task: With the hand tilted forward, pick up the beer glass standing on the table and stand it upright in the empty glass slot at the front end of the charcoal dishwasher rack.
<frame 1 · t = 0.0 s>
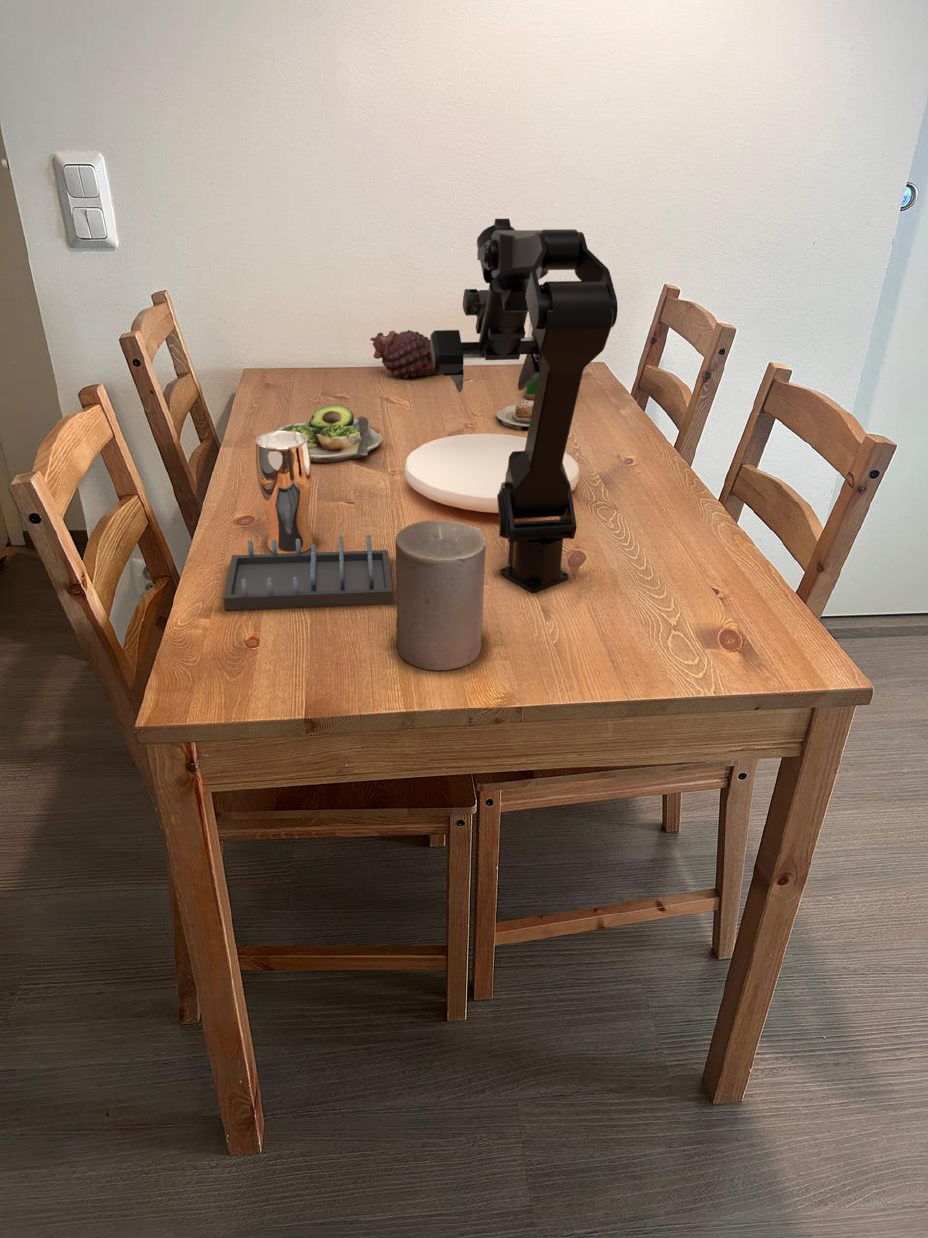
hand: (489, 388, 138), 15 cm above the table, tool tilted 35°, fingers open, 9 cm apart
pillar candle: (439, 649, 105), on the table
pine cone: (411, 376, 194), on the table
pastry: (528, 421, 171), on the table
beer glass: (290, 546, 126), on the table
plate: (491, 489, 144), on the table
rack: (310, 585, 116), on the table
salad plate: (329, 444, 159), on the table
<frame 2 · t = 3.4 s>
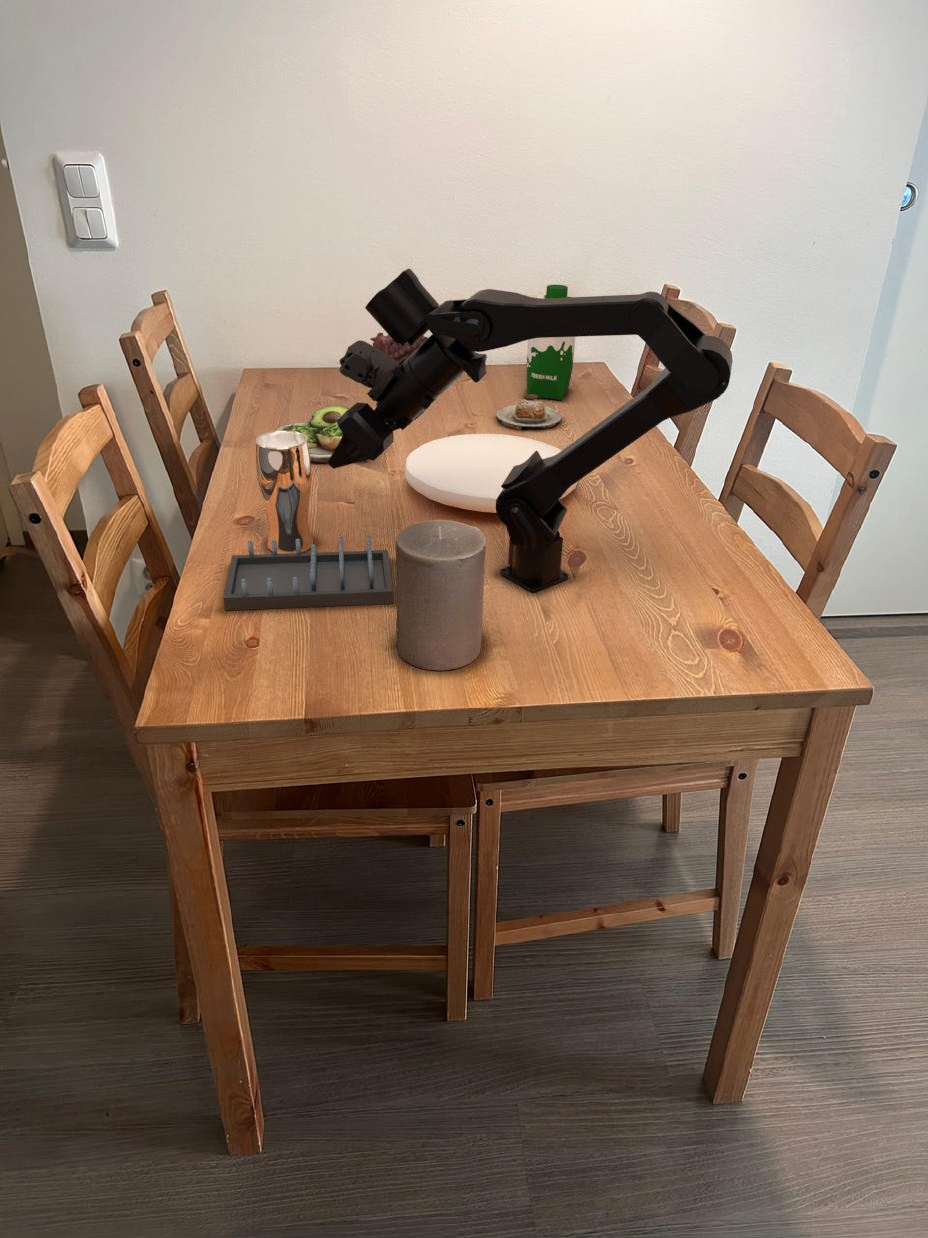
hand: (344, 452, 118), 14 cm above the table, tool tilted 45°, fingers open, 9 cm apart
nothing on the table moved.
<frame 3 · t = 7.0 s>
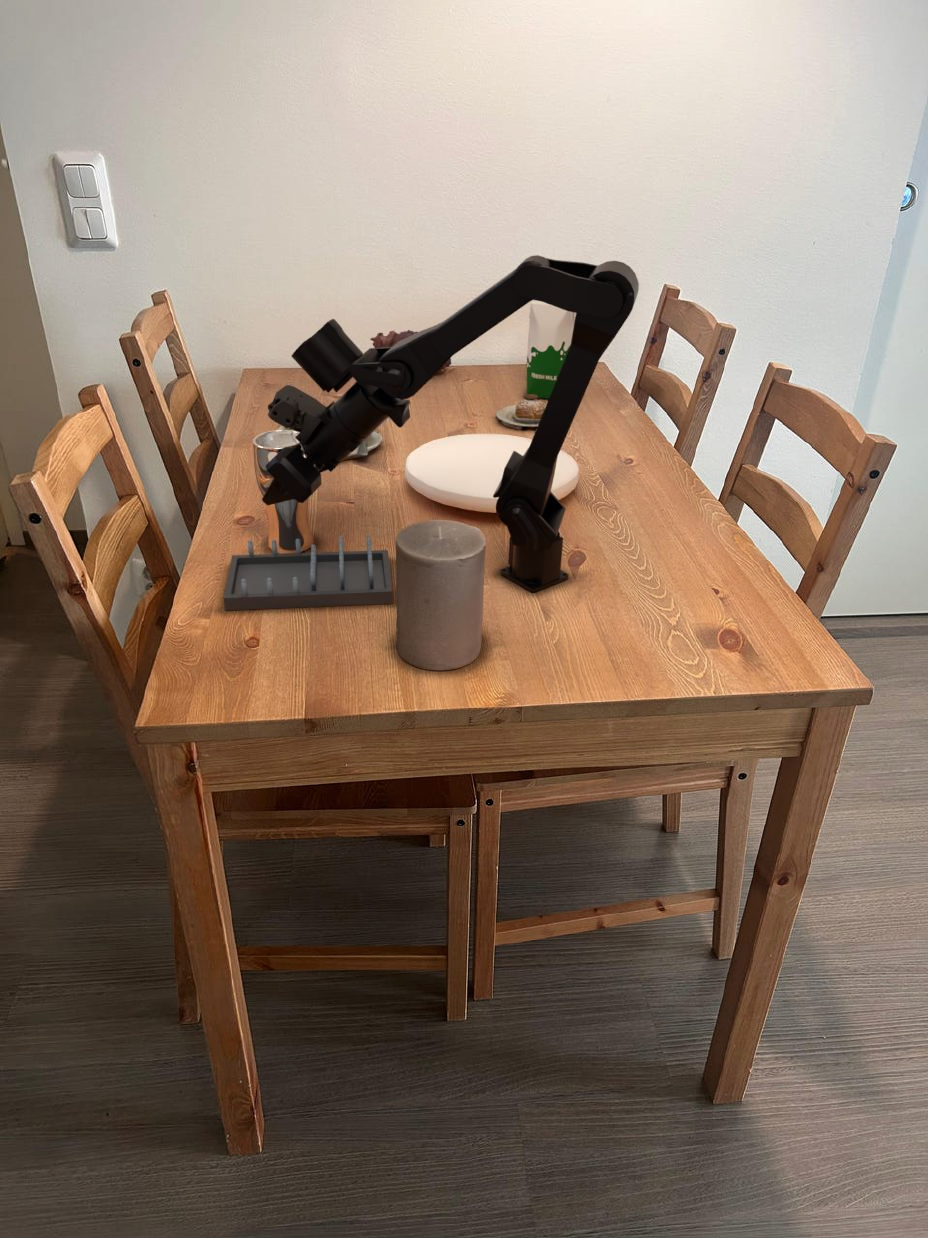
hand: (275, 491, 122), 8 cm above the table, tool tilted 45°, fingers closed on beer glass, 7 cm apart
beer glass: (291, 544, 126), on the table, touching gripper
everything else where it was.
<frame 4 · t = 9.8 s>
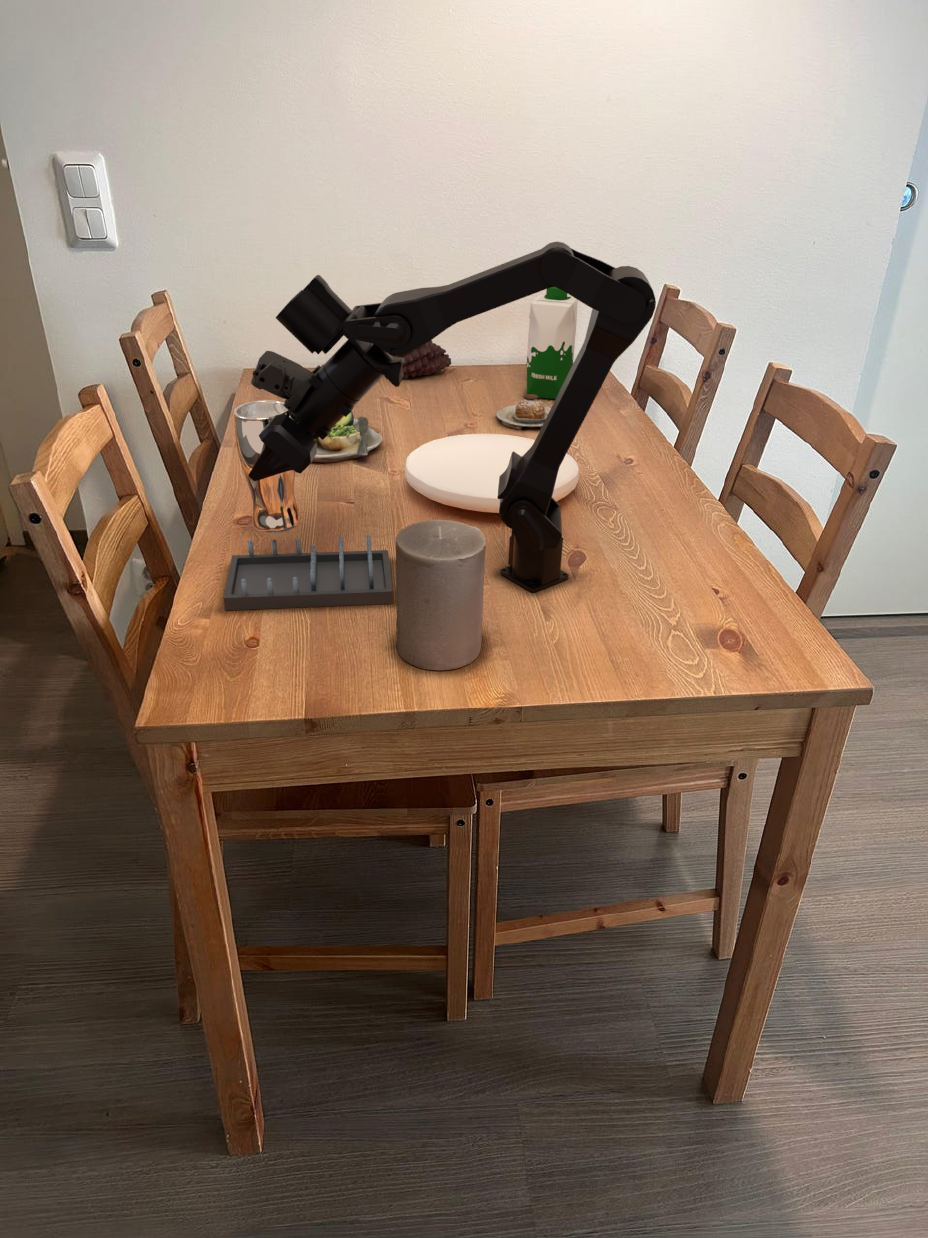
hand: (259, 467, 115), 13 cm above the table, tool tilted 45°, fingers closed on beer glass, 7 cm apart
beer glass: (277, 523, 119), point 6 cm above the table, touching gripper
everything else where it was.
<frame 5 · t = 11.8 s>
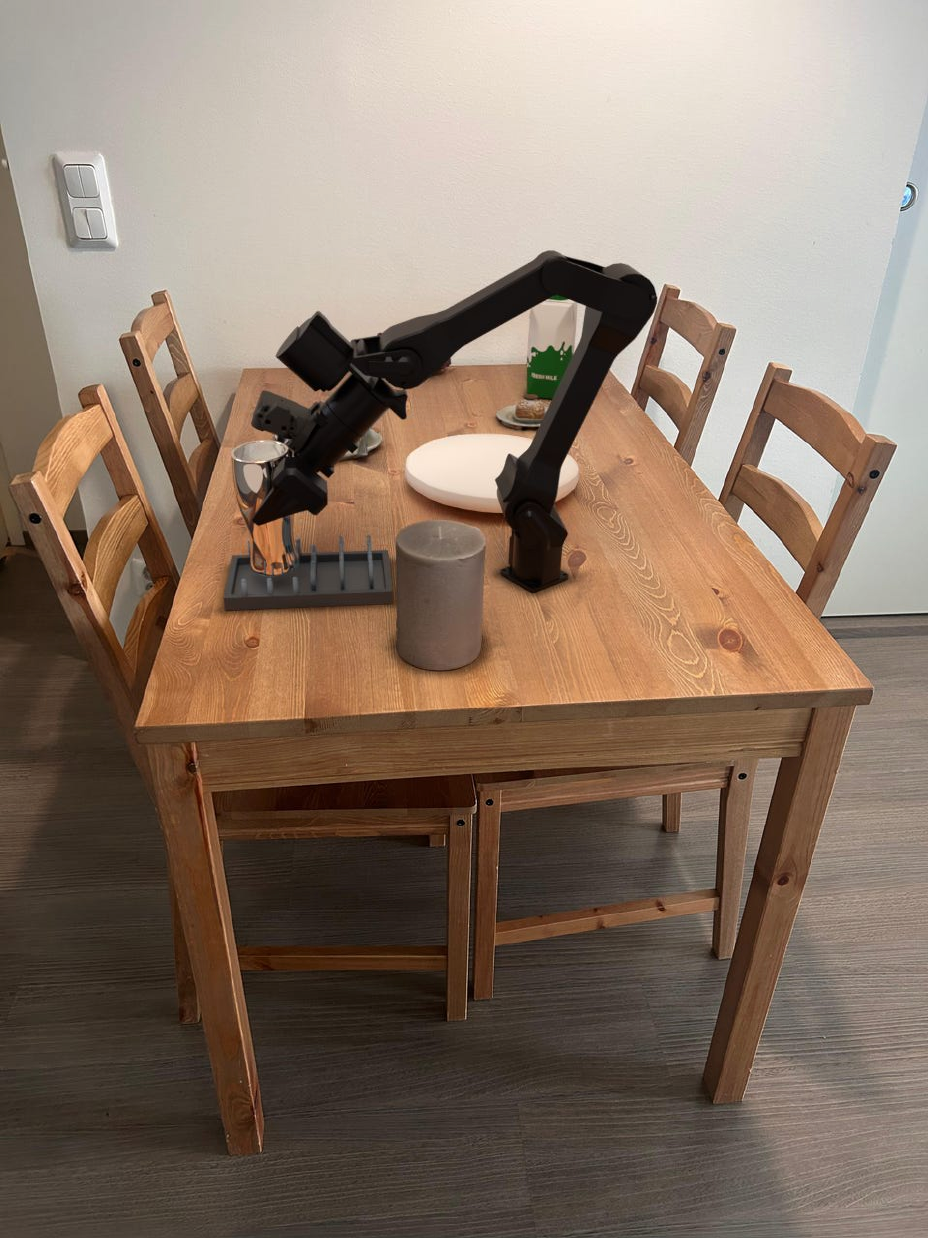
hand: (256, 510, 110), 10 cm above the table, tool tilted 45°, fingers closed on beer glass, 7 cm apart
beer glass: (275, 566, 115), point 3 cm above the table, touching gripper
everything else where it was.
when the fingers open (8 cm above the table, at t = 13.1 s): beer glass stays where it is, resting on rack.
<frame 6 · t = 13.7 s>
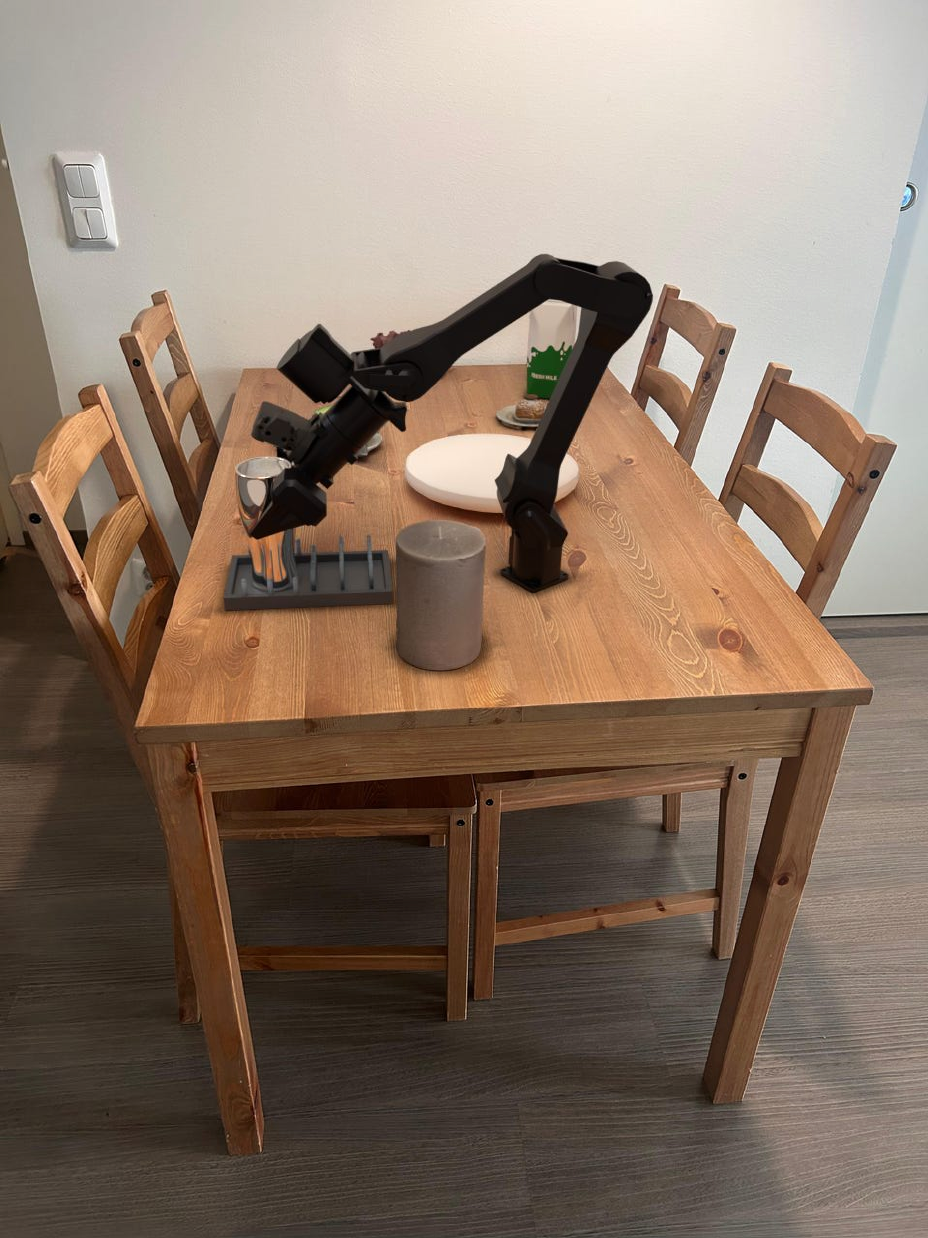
hand: (256, 519, 111), 9 cm above the table, tool tilted 45°, fingers open, 9 cm apart
beer glass: (276, 580, 116), point 1 cm above the table, touching gripper, rack
everything else where it was.
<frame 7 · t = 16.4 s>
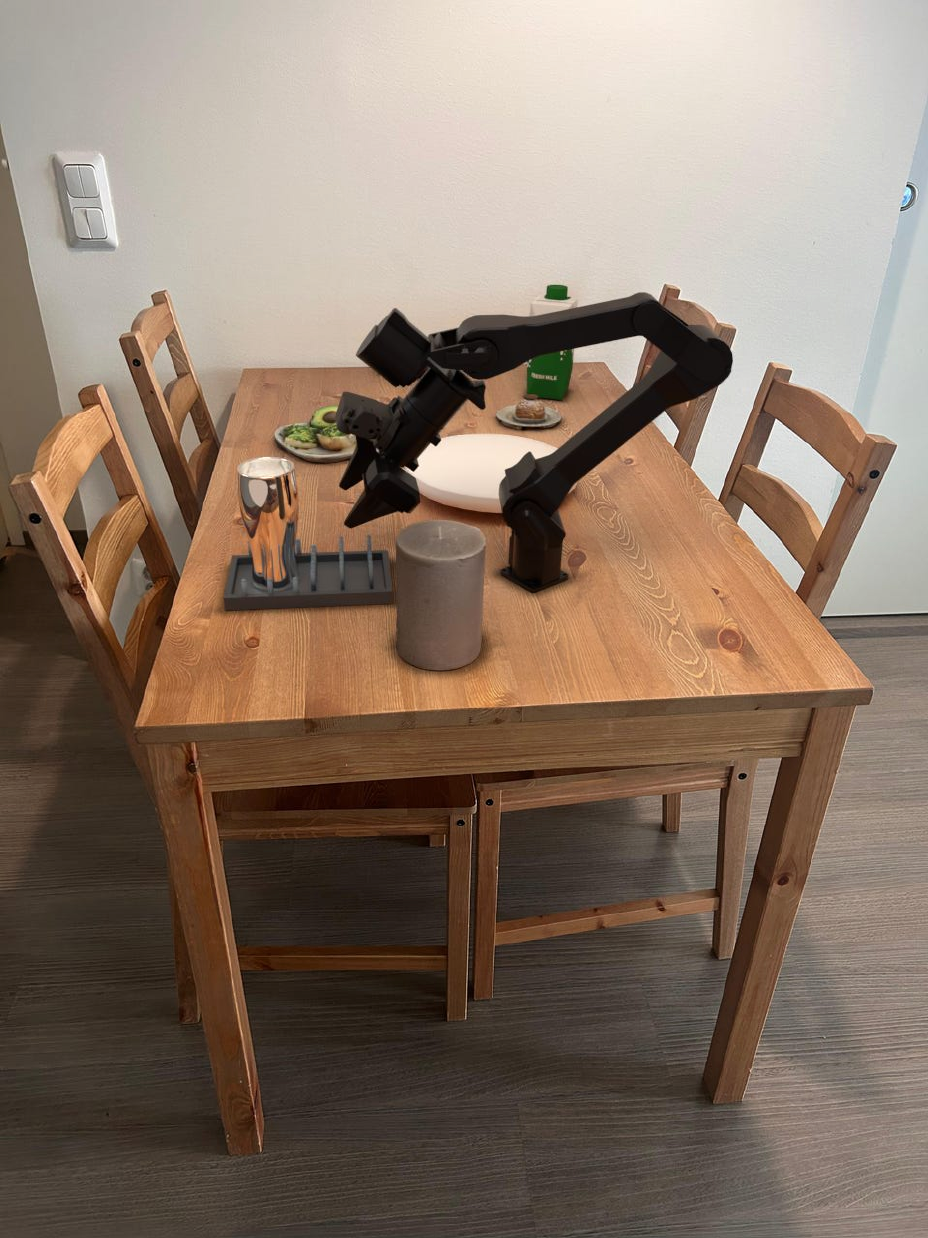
hand: (344, 506, 113), 10 cm above the table, tool tilted 40°, fingers open, 9 cm apart
beer glass: (276, 581, 116), point 1 cm above the table, touching rack
everything else where it was.
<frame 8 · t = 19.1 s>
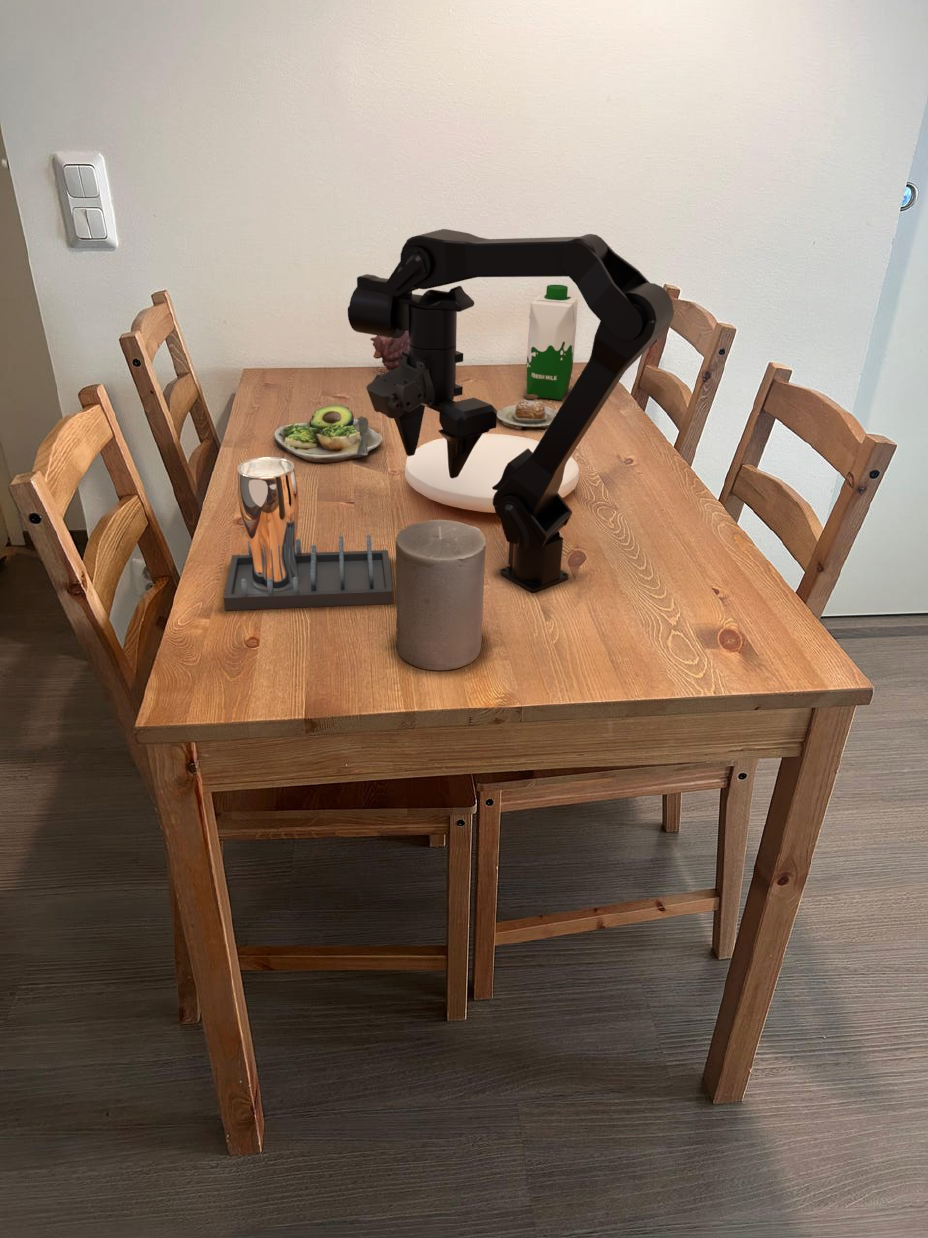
hand: (431, 466, 119), 12 cm above the table, tool pointing down, fingers open, 9 cm apart
nothing on the table moved.
at the end: beer glass 0.3 cm from the target spot on the rack, point 0.6 cm above the rack's base; beer glass tilted 0°; the gripper is holding nothing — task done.
